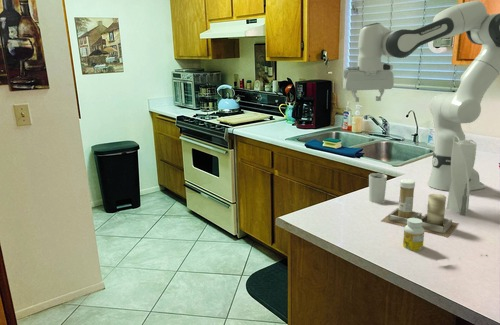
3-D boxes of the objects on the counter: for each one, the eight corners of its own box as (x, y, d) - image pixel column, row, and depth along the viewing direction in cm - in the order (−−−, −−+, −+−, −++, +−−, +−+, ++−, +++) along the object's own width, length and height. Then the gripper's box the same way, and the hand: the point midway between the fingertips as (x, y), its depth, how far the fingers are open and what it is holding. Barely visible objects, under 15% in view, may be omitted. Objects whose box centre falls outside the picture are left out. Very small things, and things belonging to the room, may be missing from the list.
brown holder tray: (380, 225, 134) (380, 216, 134) (394, 213, 144) (395, 204, 143) (447, 242, 121) (448, 231, 120) (458, 227, 131) (459, 218, 130)
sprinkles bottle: (395, 216, 137) (397, 179, 134) (407, 216, 138) (410, 178, 134) (401, 222, 133) (404, 183, 129) (414, 221, 133) (417, 182, 130)
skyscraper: (439, 213, 143) (447, 136, 136) (449, 207, 148) (457, 132, 141) (463, 220, 137) (473, 139, 130) (474, 213, 142) (483, 136, 135)
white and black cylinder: (364, 200, 158) (365, 176, 155) (372, 196, 162) (374, 172, 160) (380, 204, 153) (381, 179, 151) (388, 199, 158) (390, 175, 155)
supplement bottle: (425, 255, 114) (428, 224, 111) (406, 255, 114) (409, 224, 111) (418, 246, 119) (420, 216, 116) (399, 247, 119) (402, 216, 117)
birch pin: (437, 222, 132) (439, 193, 130) (446, 228, 127) (449, 198, 125) (423, 223, 131) (425, 194, 129) (431, 229, 127) (434, 199, 124)
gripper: (347, 67, 155) (345, 103, 158) (396, 65, 158) (394, 101, 161) (341, 67, 161) (340, 101, 164) (389, 65, 164) (387, 99, 167)
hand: (367, 101), depth 163 cm, fingers open, 8 cm apart
